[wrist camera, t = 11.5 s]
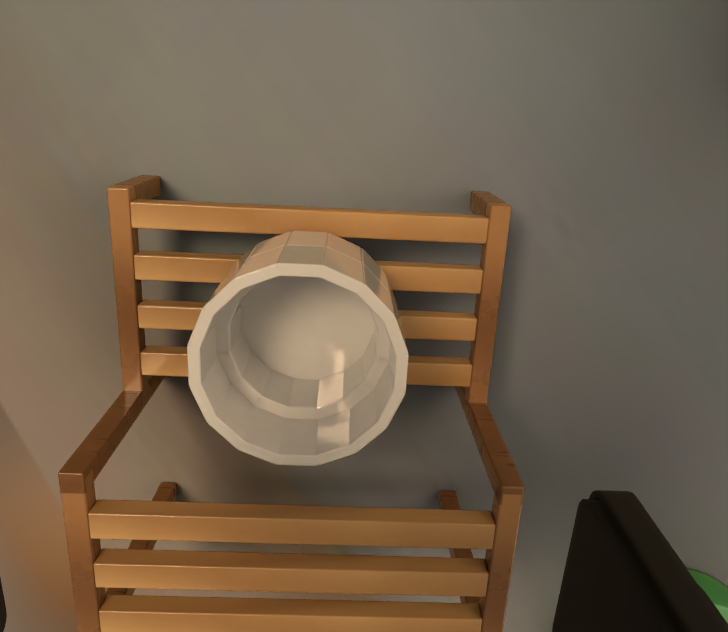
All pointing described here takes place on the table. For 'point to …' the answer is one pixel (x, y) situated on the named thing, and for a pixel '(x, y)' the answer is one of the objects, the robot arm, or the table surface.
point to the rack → (293, 522)
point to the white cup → (300, 351)
